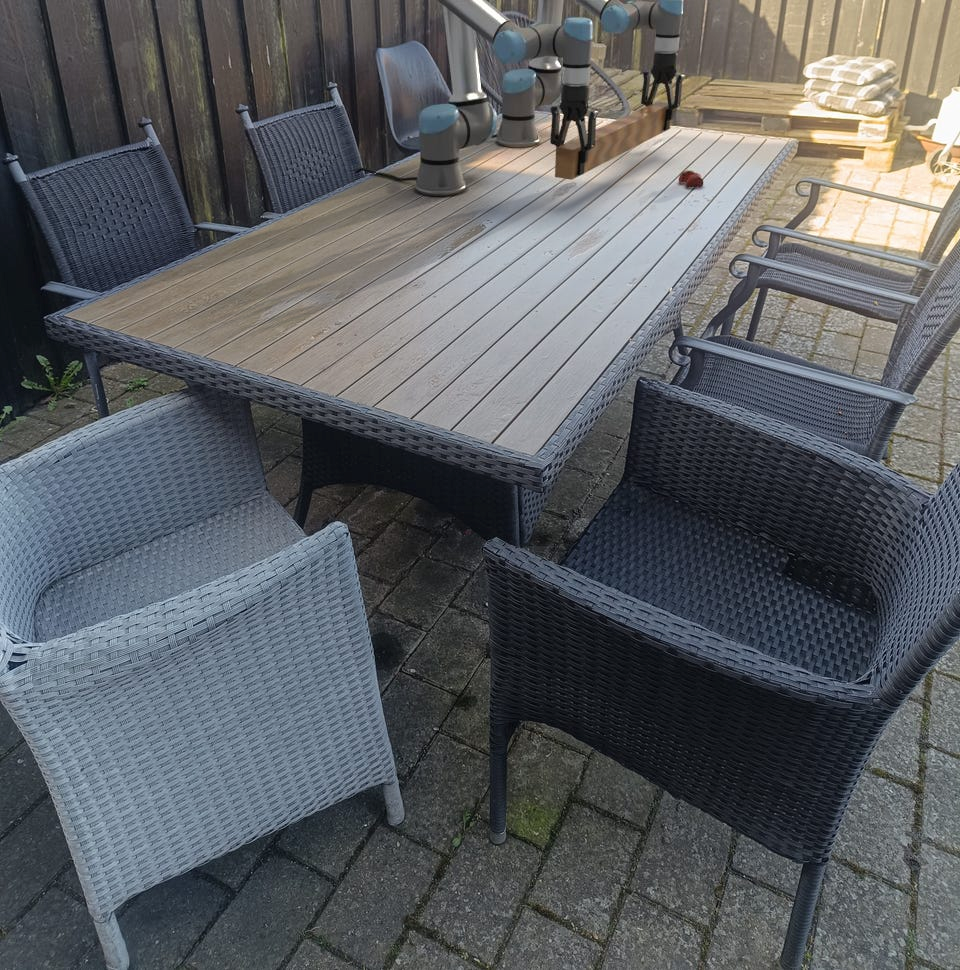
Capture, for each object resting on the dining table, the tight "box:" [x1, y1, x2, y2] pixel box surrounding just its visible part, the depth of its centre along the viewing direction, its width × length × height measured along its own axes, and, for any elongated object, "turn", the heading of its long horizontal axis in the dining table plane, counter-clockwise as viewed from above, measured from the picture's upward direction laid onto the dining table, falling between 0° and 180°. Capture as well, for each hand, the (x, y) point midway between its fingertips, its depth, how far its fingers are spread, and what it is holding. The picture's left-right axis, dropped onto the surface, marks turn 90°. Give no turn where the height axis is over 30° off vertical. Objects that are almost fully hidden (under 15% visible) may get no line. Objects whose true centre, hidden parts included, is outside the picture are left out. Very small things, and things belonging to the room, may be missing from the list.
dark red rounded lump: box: [678, 169, 704, 189], centre depth 261 cm, size 6×4×8 cm
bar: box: [554, 101, 672, 181], centre depth 259 cm, size 71×5×8 cm, turn 147°
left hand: (571, 172), depth 239 cm, fingers closed on bar, 5 cm apart
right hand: (657, 128), depth 282 cm, fingers closed on bar, 5 cm apart
